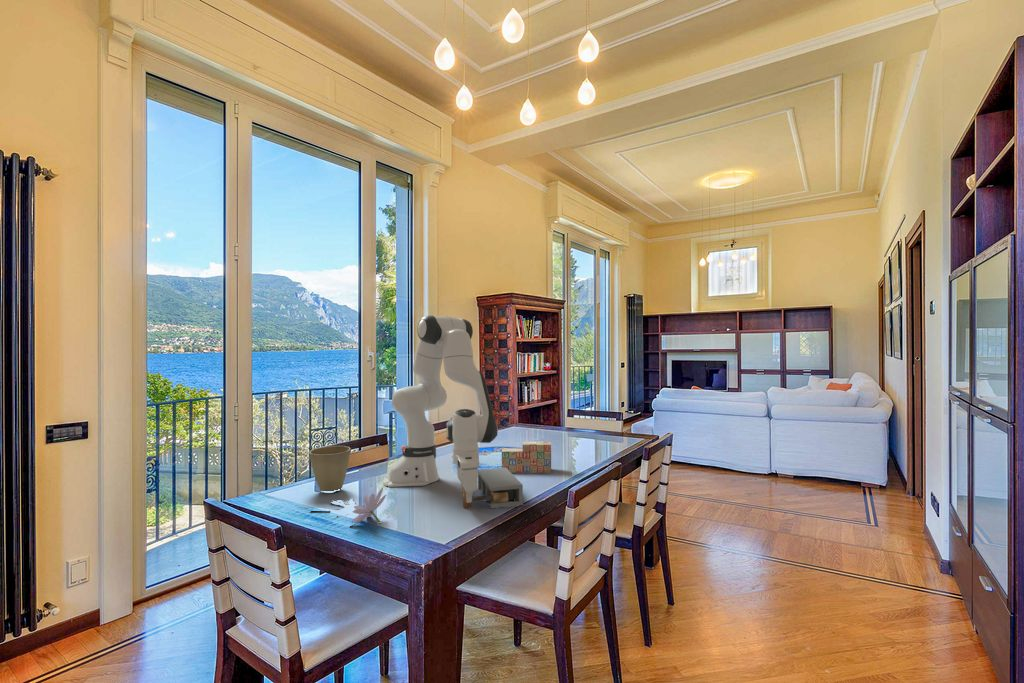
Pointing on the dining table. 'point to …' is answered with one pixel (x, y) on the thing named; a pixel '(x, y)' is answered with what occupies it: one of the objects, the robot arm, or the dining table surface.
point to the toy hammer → (488, 497)
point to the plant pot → (330, 466)
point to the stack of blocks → (528, 458)
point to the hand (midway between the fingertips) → (466, 497)
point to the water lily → (368, 507)
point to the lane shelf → (500, 485)
